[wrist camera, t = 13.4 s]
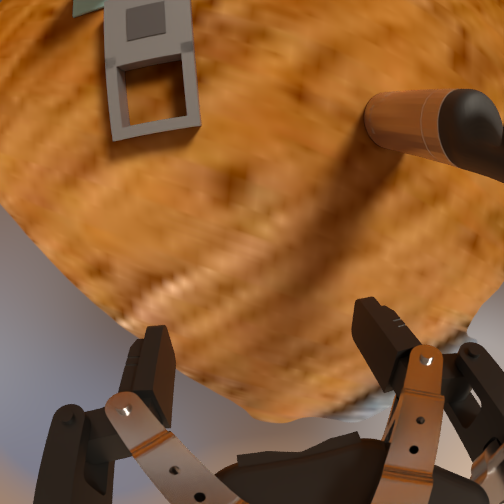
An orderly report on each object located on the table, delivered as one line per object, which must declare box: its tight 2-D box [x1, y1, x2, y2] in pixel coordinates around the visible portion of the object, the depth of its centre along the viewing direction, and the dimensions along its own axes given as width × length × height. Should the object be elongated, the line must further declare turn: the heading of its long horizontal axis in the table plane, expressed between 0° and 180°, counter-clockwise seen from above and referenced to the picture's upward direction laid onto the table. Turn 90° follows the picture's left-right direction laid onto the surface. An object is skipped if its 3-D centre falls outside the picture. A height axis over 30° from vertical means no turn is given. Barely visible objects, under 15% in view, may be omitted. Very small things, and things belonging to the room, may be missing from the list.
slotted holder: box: [104, 0, 202, 141], centre depth 32 cm, size 11×21×4 cm, turn 5°
